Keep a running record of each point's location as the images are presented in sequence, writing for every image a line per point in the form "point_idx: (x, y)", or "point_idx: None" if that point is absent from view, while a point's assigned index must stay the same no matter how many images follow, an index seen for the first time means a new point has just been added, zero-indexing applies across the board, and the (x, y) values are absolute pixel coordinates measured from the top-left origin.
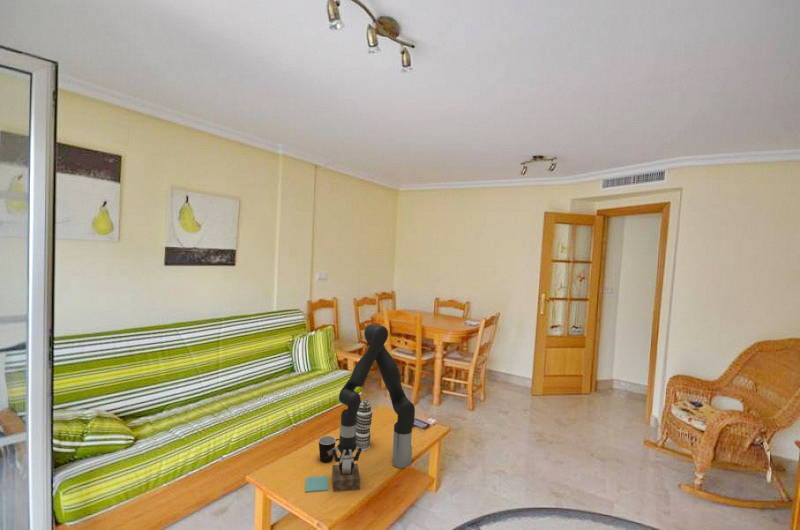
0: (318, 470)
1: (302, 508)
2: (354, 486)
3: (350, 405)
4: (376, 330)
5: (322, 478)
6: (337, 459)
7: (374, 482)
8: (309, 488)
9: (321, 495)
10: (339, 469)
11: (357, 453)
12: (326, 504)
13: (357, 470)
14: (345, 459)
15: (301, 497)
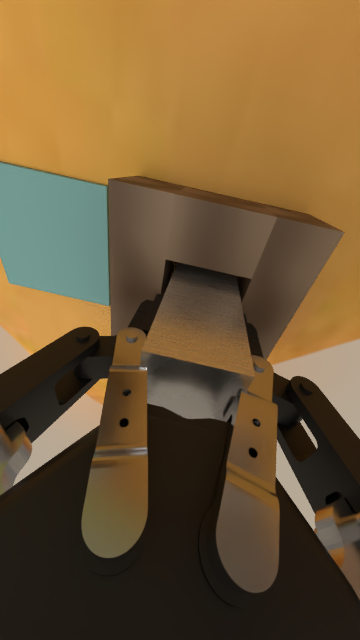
0: (32, 49)
1: (32, 349)
2: None
3: None
4: None
5: (74, 207)
6: (87, 385)
7: (342, 325)
8: (23, 271)
9: (85, 318)
10: (159, 266)
11: (307, 490)
12: None
13: (279, 320)
14: None
15: (10, 302)
